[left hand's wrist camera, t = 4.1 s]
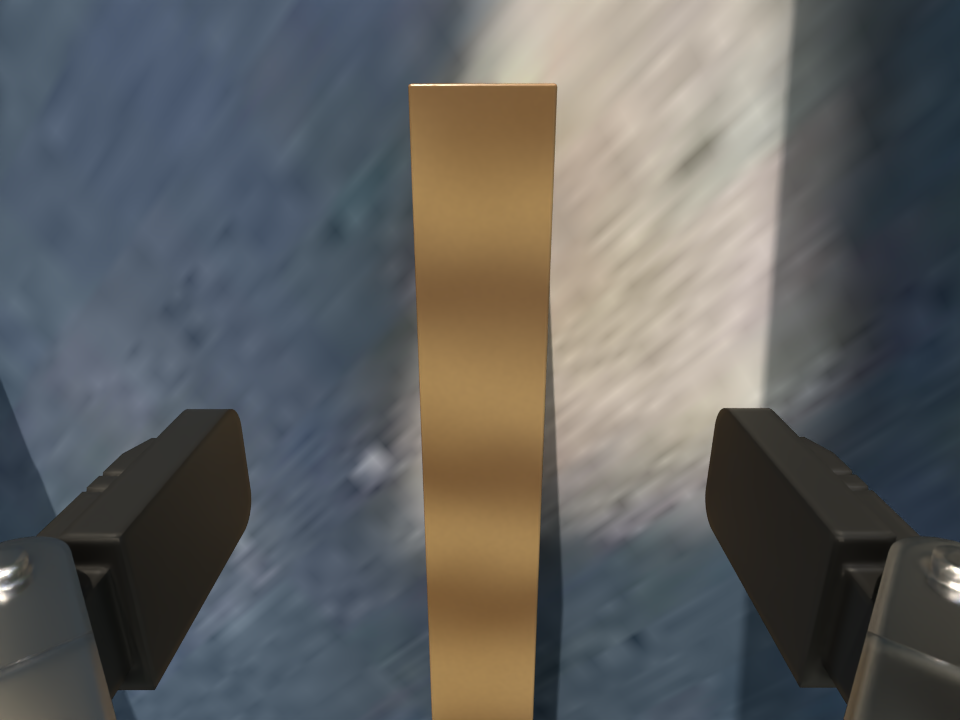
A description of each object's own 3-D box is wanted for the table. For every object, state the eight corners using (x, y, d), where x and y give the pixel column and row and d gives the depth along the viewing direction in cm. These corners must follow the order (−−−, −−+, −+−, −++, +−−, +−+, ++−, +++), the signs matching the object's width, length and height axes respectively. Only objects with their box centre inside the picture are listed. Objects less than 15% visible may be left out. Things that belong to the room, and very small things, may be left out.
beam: (424, 89, 27) (407, 83, 21) (541, 89, 27) (557, 83, 21) (449, 951, 49) (445, 1068, 43) (515, 951, 49) (519, 1068, 43)
